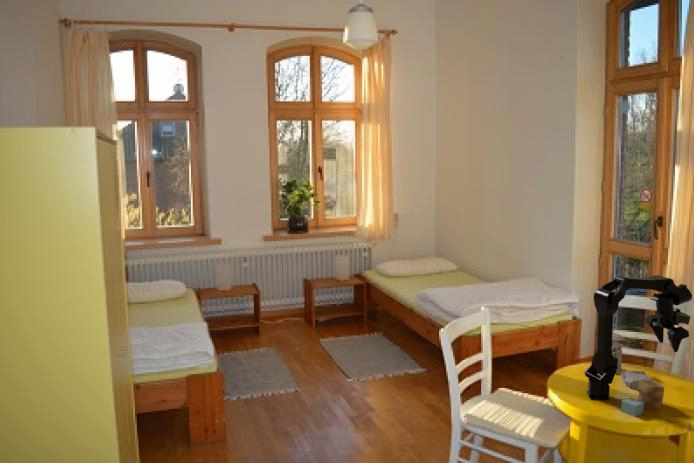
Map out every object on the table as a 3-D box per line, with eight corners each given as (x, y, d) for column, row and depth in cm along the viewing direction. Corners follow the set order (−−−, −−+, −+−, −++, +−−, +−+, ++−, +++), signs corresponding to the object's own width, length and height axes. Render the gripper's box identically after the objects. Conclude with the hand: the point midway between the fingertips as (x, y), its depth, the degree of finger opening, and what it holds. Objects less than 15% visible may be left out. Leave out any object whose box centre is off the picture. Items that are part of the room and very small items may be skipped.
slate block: (621, 411, 216) (621, 400, 215) (629, 408, 219) (630, 397, 218) (634, 417, 212) (635, 406, 211) (643, 413, 214) (643, 402, 214)
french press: (617, 364, 259) (621, 306, 255) (630, 375, 247) (634, 314, 243) (593, 364, 259) (597, 306, 255) (605, 375, 247) (609, 314, 243)
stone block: (630, 394, 234) (657, 389, 233) (628, 382, 233) (655, 377, 233) (617, 383, 246) (643, 378, 245) (615, 371, 245) (641, 366, 245)
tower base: (643, 408, 218) (644, 397, 218) (638, 401, 224) (639, 390, 224) (661, 409, 218) (662, 398, 217) (655, 402, 223) (656, 391, 223)
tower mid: (646, 398, 217) (646, 387, 217) (638, 391, 223) (638, 380, 223) (663, 398, 217) (664, 387, 217) (654, 391, 223) (655, 380, 223)
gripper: (701, 312, 223) (704, 352, 227) (670, 296, 241) (674, 333, 245) (672, 319, 223) (675, 359, 226) (643, 302, 241) (647, 339, 244)
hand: (668, 347), depth 235 cm, fingers open, 9 cm apart
